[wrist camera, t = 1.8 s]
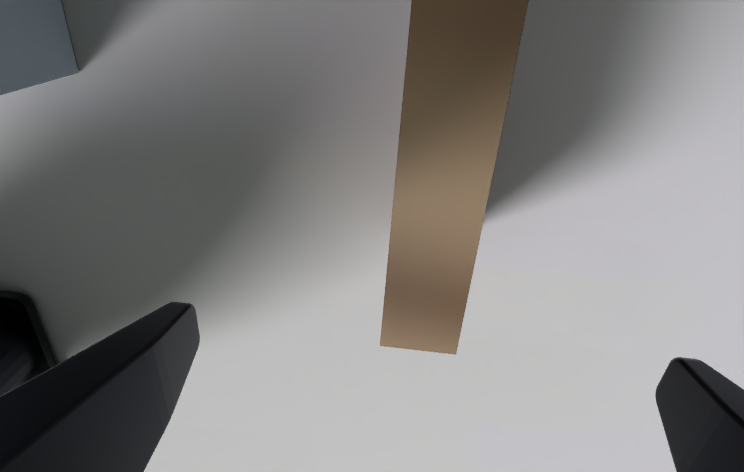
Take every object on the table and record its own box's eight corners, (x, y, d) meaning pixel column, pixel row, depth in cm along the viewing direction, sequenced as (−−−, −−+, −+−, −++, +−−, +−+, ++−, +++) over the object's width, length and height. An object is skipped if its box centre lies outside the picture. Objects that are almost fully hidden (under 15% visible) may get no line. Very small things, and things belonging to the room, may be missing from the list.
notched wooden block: (446, 240, 17) (455, 354, 12) (392, 234, 17) (379, 345, 12) (558, -445, 9) (727, -972, 4) (458, -446, 9) (501, -966, 4)
